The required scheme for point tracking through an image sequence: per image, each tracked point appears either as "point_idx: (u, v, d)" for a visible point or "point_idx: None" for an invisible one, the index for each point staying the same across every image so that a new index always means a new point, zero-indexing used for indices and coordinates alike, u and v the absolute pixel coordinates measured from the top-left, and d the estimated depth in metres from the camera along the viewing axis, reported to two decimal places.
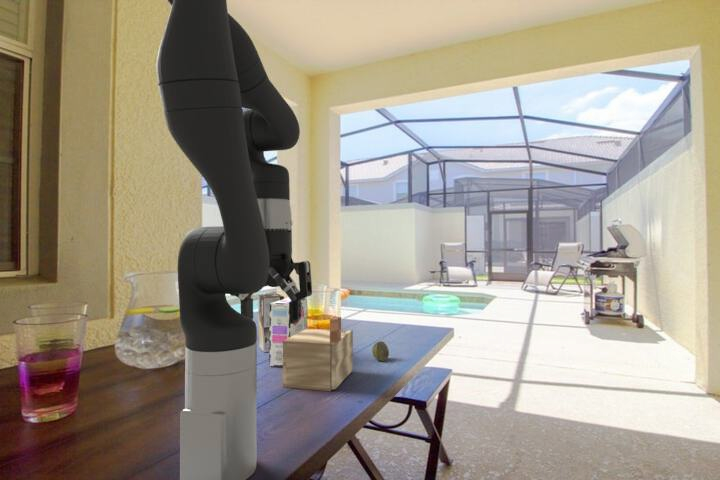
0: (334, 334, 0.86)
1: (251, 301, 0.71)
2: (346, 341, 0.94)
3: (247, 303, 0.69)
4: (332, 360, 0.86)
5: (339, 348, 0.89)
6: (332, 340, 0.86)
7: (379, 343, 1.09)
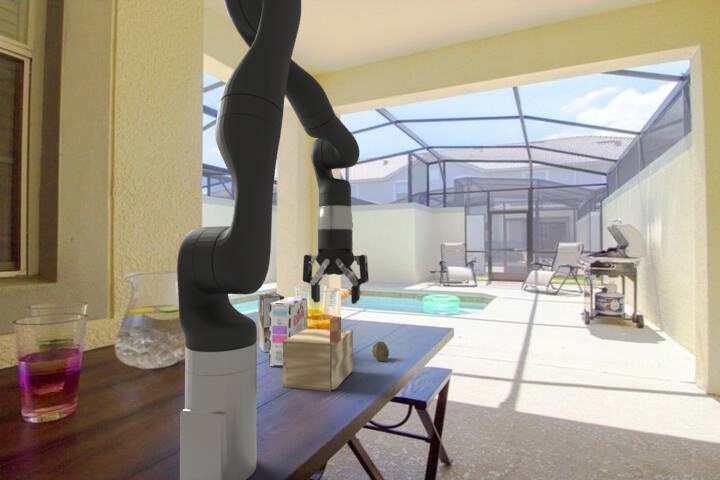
0: (334, 334, 0.86)
1: (319, 286, 0.89)
2: (346, 341, 0.94)
3: (317, 288, 0.88)
4: (332, 360, 0.86)
5: (339, 348, 0.89)
6: (332, 340, 0.86)
7: (379, 343, 1.09)
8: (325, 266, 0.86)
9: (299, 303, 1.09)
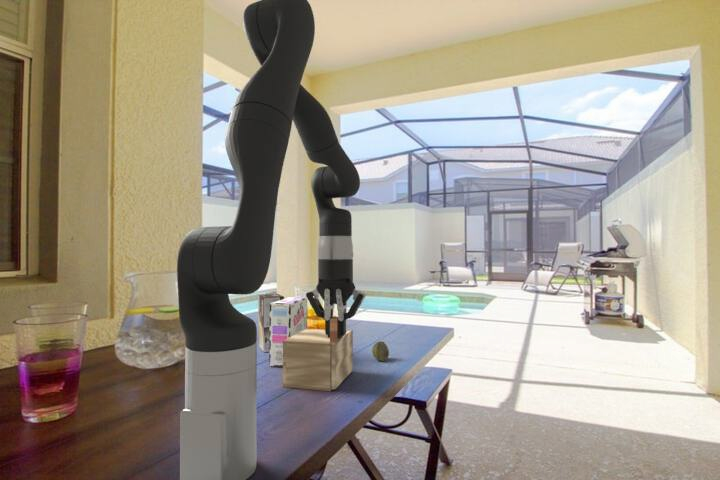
0: (334, 334, 0.86)
1: None
2: (346, 341, 0.94)
3: None
4: (332, 360, 0.86)
5: (339, 348, 0.89)
6: (332, 340, 0.86)
7: (379, 343, 1.09)
8: (328, 296, 0.86)
9: (299, 303, 1.09)
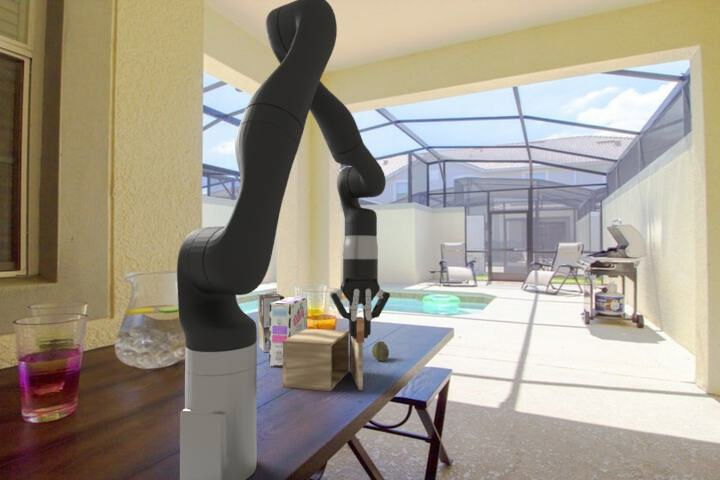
0: (362, 334, 0.86)
1: None
2: None
3: (356, 323, 0.86)
4: (360, 360, 0.85)
5: None
6: (359, 340, 0.86)
7: (379, 343, 1.09)
8: (357, 296, 0.85)
9: (299, 303, 1.09)
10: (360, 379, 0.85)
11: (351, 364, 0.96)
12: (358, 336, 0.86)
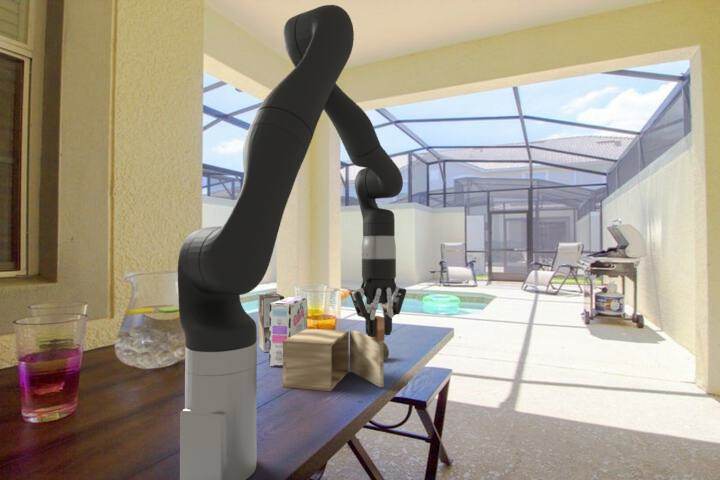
0: (382, 332, 0.88)
1: None
2: None
3: (374, 322, 0.87)
4: (381, 358, 0.87)
5: None
6: (380, 338, 0.87)
7: None
8: (379, 296, 0.87)
9: (299, 303, 1.09)
10: (381, 377, 0.87)
11: (355, 364, 0.97)
12: (379, 335, 0.87)
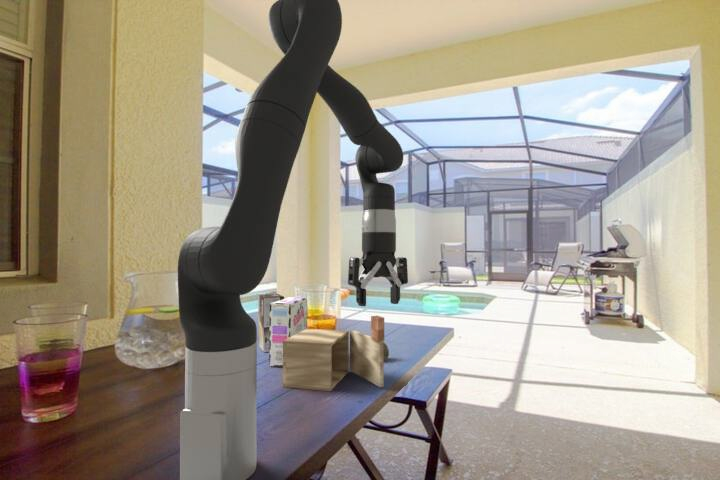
0: (382, 332, 0.88)
1: None
2: None
3: None
4: (381, 358, 0.87)
5: None
6: (380, 338, 0.87)
7: None
8: (377, 269, 0.87)
9: (299, 303, 1.09)
10: (381, 377, 0.87)
11: (355, 364, 0.97)
12: (379, 335, 0.87)
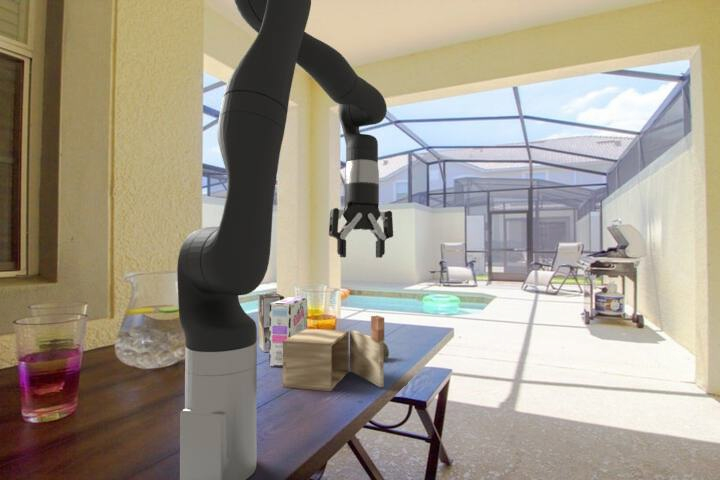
0: (382, 332, 0.88)
1: None
2: None
3: (345, 242, 0.86)
4: (381, 358, 0.87)
5: None
6: (380, 338, 0.87)
7: None
8: (357, 220, 0.86)
9: (299, 303, 1.09)
10: (381, 377, 0.87)
11: (355, 364, 0.97)
12: (379, 335, 0.87)
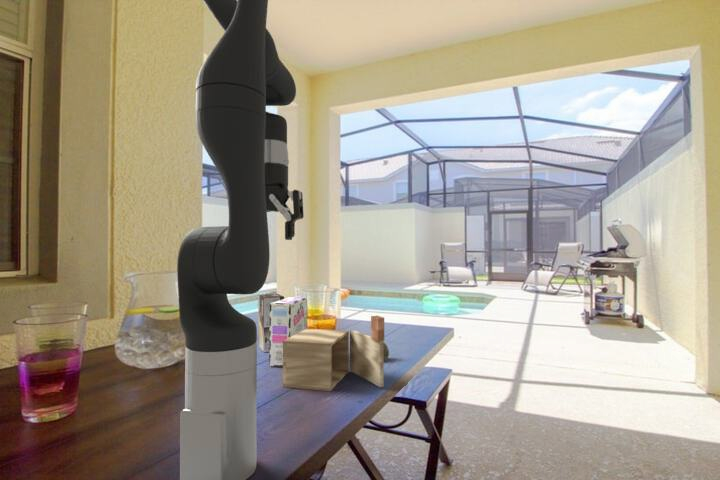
0: (382, 332, 0.88)
1: None
2: None
3: None
4: (381, 358, 0.87)
5: None
6: (380, 338, 0.87)
7: None
8: None
9: (299, 303, 1.09)
10: (381, 377, 0.87)
11: (355, 364, 0.97)
12: (379, 335, 0.87)
